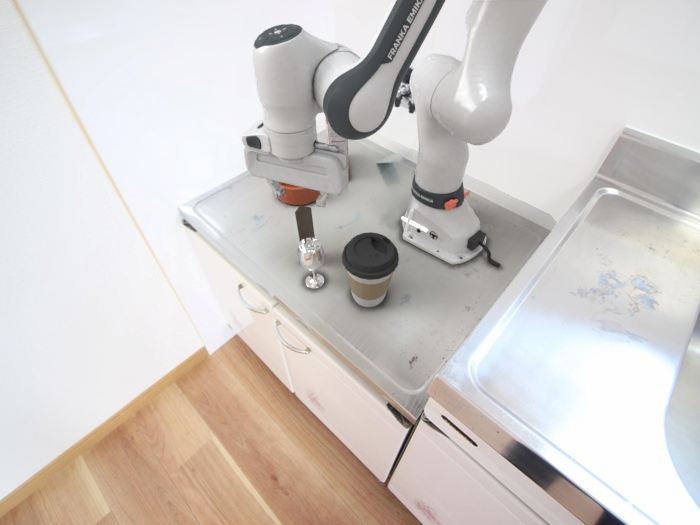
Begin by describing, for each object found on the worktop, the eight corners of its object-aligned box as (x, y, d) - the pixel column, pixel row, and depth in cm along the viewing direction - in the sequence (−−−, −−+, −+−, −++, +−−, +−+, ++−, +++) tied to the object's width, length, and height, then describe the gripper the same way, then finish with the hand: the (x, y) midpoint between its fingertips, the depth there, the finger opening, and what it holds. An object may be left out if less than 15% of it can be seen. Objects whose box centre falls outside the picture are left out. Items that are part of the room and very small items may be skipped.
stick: (317, 257, 85) (311, 207, 73) (313, 265, 83) (305, 215, 71) (307, 255, 85) (300, 204, 73) (303, 262, 84) (294, 212, 72)
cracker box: (327, 157, 115) (322, 93, 99) (345, 156, 115) (343, 92, 100) (330, 181, 106) (325, 115, 90) (349, 180, 106) (348, 113, 90)
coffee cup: (404, 300, 76) (412, 254, 65) (361, 324, 72) (362, 280, 61) (374, 267, 82) (377, 221, 71) (334, 288, 78) (330, 242, 67)
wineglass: (299, 276, 81) (292, 240, 72) (322, 268, 82) (318, 232, 73) (307, 294, 77) (300, 258, 68) (330, 286, 79) (327, 250, 70)
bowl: (334, 192, 102) (333, 175, 98) (293, 213, 96) (290, 196, 92) (306, 171, 110) (304, 154, 105) (267, 189, 104) (263, 172, 99)
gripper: (353, 138, 59) (353, 202, 70) (251, 119, 64) (265, 181, 74) (340, 157, 55) (342, 221, 66) (232, 135, 60) (249, 198, 71)
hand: (300, 200), depth 70 cm, fingers open, 8 cm apart
